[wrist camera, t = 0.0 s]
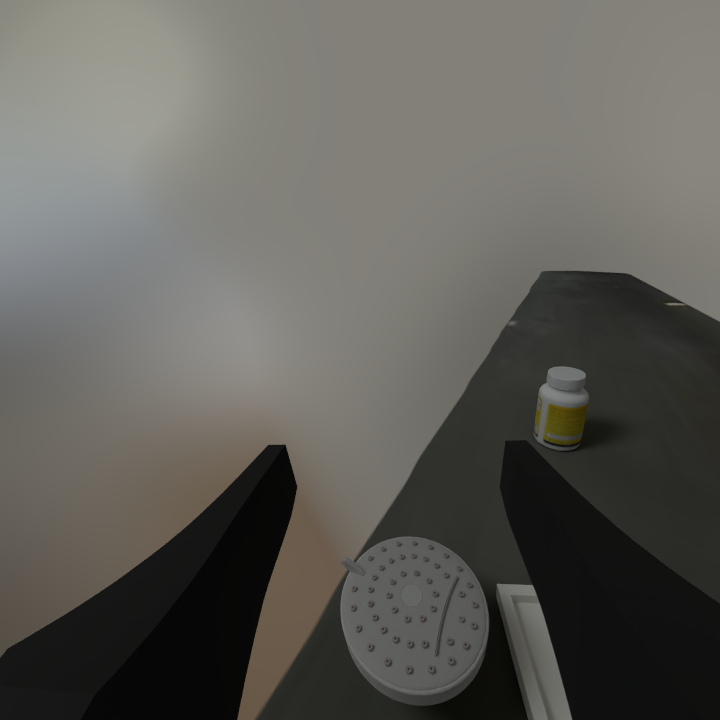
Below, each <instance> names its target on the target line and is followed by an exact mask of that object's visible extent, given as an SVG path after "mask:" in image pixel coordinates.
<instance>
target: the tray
mask: <svg viewBox="0 0 720 720" xmlns="http://www.w3.org/2000/svg"><path fill="white" fill-rule="evenodd" d="M496 598H497V602H498V606H499V610H500V614H501V618H502V621H503V625H504V629H505V633H506V637H507V641H508V645H509V648H510V652H511V656H512V660H513V664H514V668H515V671H516V675H517V679H518V683H519V687H520V691H521V695H522V698H523V702H524V706H525V710H526V714H527V718H528V720H572V717H571V713H570V709H569V705H568V702H567V698H566V694H565V690H564V687H563V683H562V679H561V676H560V672H559V668H558V665H557V661H556V657H555V654H554V650H553V647H552V643H551V640H550V636H549V633H548V629H547V626H546V622H545V619H544V615H543V612H542V609H541V606H540V603H539V600H538V597H537V595H536V592H535V589H534V587H533V585H511V584H497V589H496Z"/></svg>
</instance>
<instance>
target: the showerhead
mask: <svg viewBox="0 0 720 720" xmlns="http://www.w3.org/2000/svg"><path fill="white" fill-rule="evenodd" d="M341 563H342V564H343V565H344V566H345V567H346V568H347V569H348V570H349V571H350V572H349V574H348V576H347V579H346V581H345V584H344V587H343V591H342V596H341V621H342V627H343V631H344V635H345V639H346V642H347V645H348V648H349V651H350V654H351V656H352V658H353V661H354V662H355V664H356V666H357V668H358V669H359V671H360V672H361V673H362V675H363V676H364V677H365V678H366V679H367V680H368V681H369V682H370V683H371V684H372V685H373V686H374V687H375V688H376V689H377V690H379V691H380V692H381V693H383V694H384V695H386V696H388V697H390V698H392V699H394V700H396V701H399V702H402V703H405V704H410V705H418V706H426V705H434V704H438V703H442V702H445V701H447V700H449V699H451V698H453V697H455V696H457V695H458V694H459V693H461V692H462V691H463V690H464V689H465V688H466V687H467V686H468V685H469V684H470V683H471V682H472V680H473V679H474V678H475V676H476V675H477V673H478V671H479V669H480V667H481V664H482V662H483V659H484V656H485V652H486V647H487V641H488V633H489V612H488V607H487V602H486V598H485V595H484V592H483V590H482V588H481V585H480V583H479V581H478V580H477V578H476V576H475V575H474V573H473V572H472V570H471V569H470V568H469V567H468V565H467V564H466V563H465V562H464V561H463V560H462V559H461V558H460V557H459V556H458V555H456V554H455V553H454V552H452V551H451V550H450V549H448V548H446V547H445V546H443V545H441V544H439V543H437V542H434V541H431V540H428V539H424V538H418V537H398V538H393V539H389V540H386V541H384V542H381V543H379V544H377V545H375V546H374V547H372V548H370V549H369V550H368V551H366V552H365V553H364V554H363V555H362V556H361V557H360V558H359V559H358V560H357V562H356V563H355V562H353V561H352V560H351V559H349V558H348V557H346V558H344V559H343V561H342V562H341Z"/></svg>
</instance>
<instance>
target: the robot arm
mask: <svg viewBox="0 0 720 720" xmlns="http://www.w3.org/2000/svg"><path fill="white" fill-rule="evenodd" d="M500 489H501V494H502V498H503V502H504V506H505V510H506V513H507V517H508V520H509V523H510V526H511V529H512V531H513V534H514V537H515V539H516V542H517V545H518V547H519V550H520V553H521V555H522V558H523V560H524V563H525V566H526V568H527V571H528V574H529V576H530V579H531V582H532V584H533V587H534V589H535V592H536V595H537V597H538V600H539V603H540V606H541V609H542V612H543V615H544V619H545V622H546V626H547V629H548V633H549V636H550V640H551V643H552V647H553V650H554V654H555V657H556V661H557V665H558V668H559V672H560V676H561V679H562V683H563V687H564V690H565V694H566V698H567V702H568V705H569V709H570V713H571V717H572V720H720V604H719V603H718V602H717V601H715V600H714V599H712V598H711V597H709V596H708V595H706V594H705V593H704V592H702V591H701V590H699V589H698V588H696V587H695V586H694V585H692V584H691V583H689V582H688V581H686V580H685V579H684V578H682V577H681V576H679V575H678V574H677V573H675V572H674V571H673V570H671V569H670V568H668V567H667V566H666V565H664V564H663V563H662V562H660V561H659V560H658V559H657V558H655V557H654V556H653V555H651V554H650V553H649V552H647V551H646V550H645V549H644V548H642V547H641V546H640V545H638V544H637V543H636V542H635V541H633V540H632V539H631V538H630V537H628V536H627V535H626V534H625V533H624V532H622V531H621V530H620V529H619V528H618V527H616V526H615V525H614V524H613V523H612V522H611V521H610V520H608V519H607V518H606V517H605V516H604V515H603V514H601V513H600V512H599V511H598V510H597V509H596V508H595V507H594V506H593V505H591V504H590V503H589V502H588V501H587V500H586V499H585V498H584V497H583V496H582V495H581V494H580V493H579V492H578V491H577V490H575V489H574V488H573V487H572V486H571V485H570V484H569V483H568V482H567V481H566V480H565V479H564V478H563V477H562V476H561V475H560V474H559V473H558V472H557V471H556V470H555V469H554V468H553V467H552V466H551V465H550V464H549V463H548V462H547V461H546V460H545V459H544V458H543V457H542V456H541V455H540V454H539V453H538V452H537V451H536V450H535V449H534V448H533V447H532V446H531V444H530V443H528V442H527V441H526V440H521V441H506V442H505V450H504V458H503V466H502V474H501V482H500ZM296 490H297V484H296V481H295V477H294V474H293V470H292V466H291V463H290V459H289V456H288V452H287V449H286V445H268V446H267V447H266V448H265V449H264V450H263V451H262V452H261V454H259V455H258V457H257V458H256V459H255V460H254V461H253V462H252V463H251V464H250V465H249V466H248V467H247V468H246V469H245V470H244V471H243V472H242V474H241V475H240V476H239V477H238V478H237V479H236V480H235V481H234V482H233V483H232V484H231V485H230V486H229V487H228V488H227V489H226V490H225V491H224V492H223V493H222V494H221V495H220V496H219V497H218V498H217V499H216V500H215V501H214V502H213V503H212V504H211V505H210V506H209V507H207V508H206V509H205V510H204V511H203V512H202V513H201V514H200V515H199V516H198V517H197V518H196V519H195V520H193V521H192V522H191V523H190V524H189V525H188V526H187V527H186V528H184V529H183V530H182V531H181V532H180V533H178V534H177V535H176V536H175V537H174V538H172V539H171V540H170V541H169V542H168V543H166V544H165V545H164V546H163V547H161V548H160V549H159V550H158V551H156V552H155V553H154V554H152V555H151V556H150V557H148V558H147V559H146V560H144V561H143V562H142V563H140V564H139V565H138V566H136V567H135V568H133V569H132V570H131V571H130V572H128V573H127V574H125V575H124V576H123V577H121V578H120V579H118V580H117V581H116V582H114V583H113V584H111V585H110V586H108V587H107V588H105V589H104V590H102V591H101V592H100V593H98V594H96V595H95V596H93V597H92V598H90V599H89V600H87V601H86V602H84V603H83V604H81V605H80V606H78V607H76V608H75V609H73V610H72V611H70V612H69V613H67V614H65V615H64V616H62V617H60V618H59V619H57V620H55V621H54V622H52V623H50V624H49V625H47V626H45V627H44V628H42V629H40V630H39V631H37V632H35V633H34V634H32V635H30V636H29V637H27V638H25V639H24V640H22V641H20V642H18V643H17V644H15V645H13V646H11V647H10V648H8V649H7V650H6V652H5V653H4V654H3V655H2V656H1V658H0V720H237V718H238V712H239V707H240V703H241V698H242V693H243V688H244V682H245V678H246V673H247V668H248V664H249V660H250V655H251V651H252V646H253V642H254V637H255V633H256V629H257V625H258V620H259V617H260V613H261V609H262V604H263V600H264V597H265V594H266V591H267V587H268V584H269V581H270V578H271V575H272V572H273V569H274V566H275V563H276V560H277V557H278V554H279V551H280V548H281V545H282V543H283V539H284V537H285V534H286V530H287V527H288V524H289V521H290V518H291V514H292V510H293V505H294V501H295V495H296Z"/></svg>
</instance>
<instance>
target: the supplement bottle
mask: <svg viewBox="0 0 720 720" xmlns="http://www.w3.org/2000/svg"><path fill="white" fill-rule="evenodd" d="M585 380H586V374H585V373H584V372H583V371H581V370H578V369H575V368H571V367H553V368H551V369H549V371H548V375H547V383H546V384H544V385H542V386H541V388H540V390H539V395H538V403H537V411H536V418H535V426H534V437H535V439H536V440H537V441H538V442H539V443H540V444H542V445H544V446H546V447H548V448H550V449H554V450H558V451H570V450H573V449H576V448H577V447H578V446H579V445H580V442H581V438H582V433H583V428H584V423H585V418H586V412H587V407H588V402H589V395H588V393H587V392H586V390H585V389H583V387H584V385H585Z"/></svg>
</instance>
